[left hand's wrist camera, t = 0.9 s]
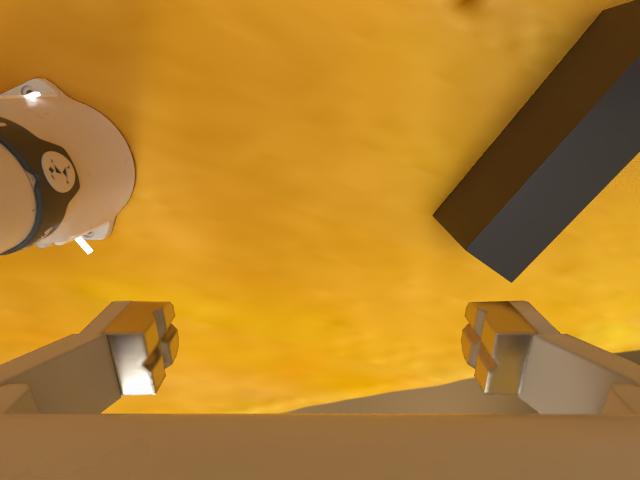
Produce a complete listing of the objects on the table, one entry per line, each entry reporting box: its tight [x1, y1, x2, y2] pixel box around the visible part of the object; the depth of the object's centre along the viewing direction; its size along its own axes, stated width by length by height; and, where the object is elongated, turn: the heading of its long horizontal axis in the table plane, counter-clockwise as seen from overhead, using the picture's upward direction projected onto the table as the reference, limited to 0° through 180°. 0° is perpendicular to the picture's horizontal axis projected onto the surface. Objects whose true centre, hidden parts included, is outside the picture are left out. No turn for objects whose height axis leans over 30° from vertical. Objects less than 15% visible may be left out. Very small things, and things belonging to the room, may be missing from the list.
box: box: [433, 0, 640, 282], centre depth 37 cm, size 27×6×11 cm, turn 145°
